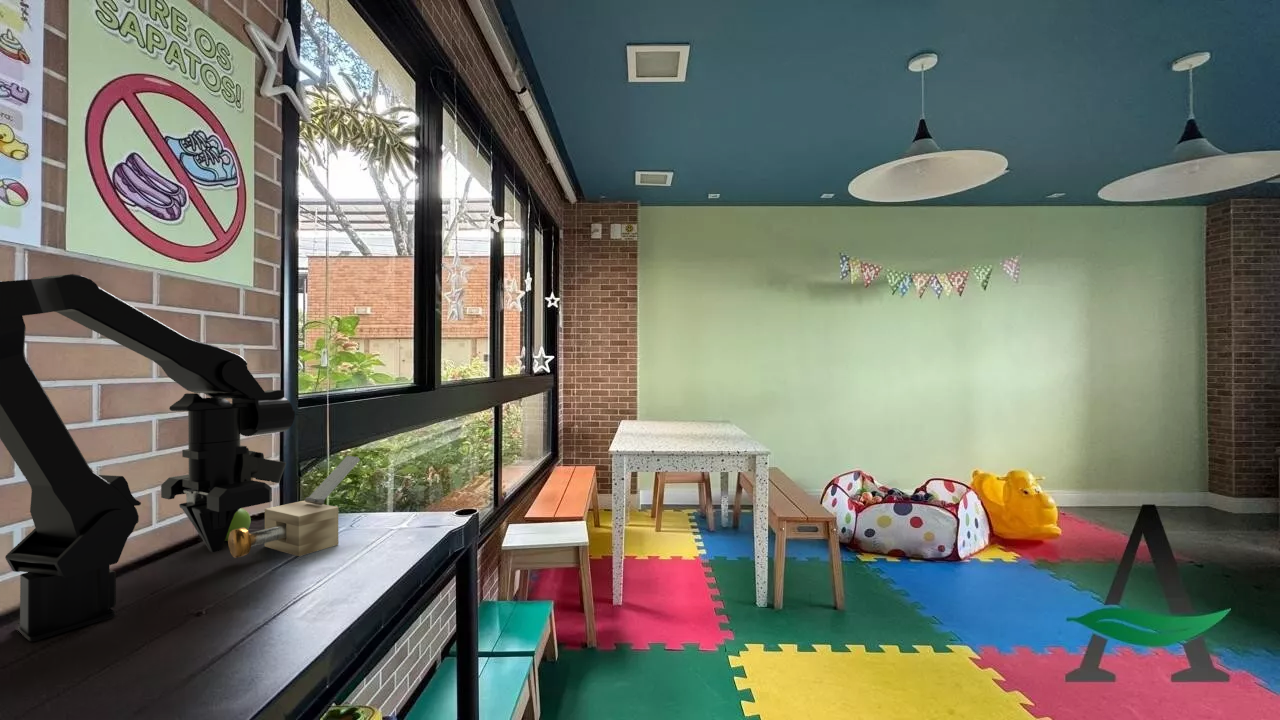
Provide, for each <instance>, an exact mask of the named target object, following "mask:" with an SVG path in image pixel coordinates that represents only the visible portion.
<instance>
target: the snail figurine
mask: <svg viewBox="0 0 1280 720" xmlns="http://www.w3.org/2000/svg"><path fill="white" fill-rule="evenodd" d="M251 480H253V481H254V478H251ZM251 521H252V520H251V516H250V514H249V512H248V511H247V510H246V509H244V508H240V509H239V510H238V511H237V512H236V513H235V515H234V517H233V519H232V522H231V524H230V527H229V530H228V533H227V536H226V538H225V541H227V542H228V538H229V534H230V532H231V531H232V530H235V529H239V528H246V529H247V530H248V531H249V528H250V526H251ZM225 541H224V542H225Z"/></svg>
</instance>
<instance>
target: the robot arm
mask: <svg viewBox="0 0 1280 720" xmlns="http://www.w3.org/2000/svg"><path fill="white" fill-rule="evenodd" d="M53 312H55V313H58V314H59V315H61V316H64V317H66V318H67V319H69V320H72V321H73V322H76V323H77V324H80V325H81V326H83V327H85V328H88V329H89V330H90V331H94V332H95V333H98V335H101V336H103V337H105V338H107V339H109V340H111V341H113V342H115V343H116V344H118V345H121V346H123V347H125V348H127V349H129V350H131V351H132V352H135V353H137V354H139V355H141V356H142V357H145V358H147V359H148V360H150V361H152V362H153V363H155V364H157V365H158V366H159V367H160V368H161V369H162V370H163V372H164V373H165V374H166V376H167V377H168V378H169V379H171V380H172V381H173V382H175V383H176V384H178V385H179V386H181V388H183V389H185V390H186V391H188V392H191V393H186V392H185V393H184V394H183V396H182V397H181V398H180V399H179V400H177V401H175V402H174V403H173V404H172V405H171V406H169V411H171V412H187V414H188V415H187V417H188V418H187V419H188V420H187V422H188V425H187V427H188V428H187V429H188V430H187V431H188V444H187V445H188V449H182V452H181V454H182V456H181V457H182V458H186V459H188V474H183V475H177V476H171V477H168V478H167V479H166V480H165V481H164V482H163V483H162V484H161V485H160V490H161V491H160V497H161V499H165V500H173V499H175V497H176V496H178V495H186V498H185V501H186V502H182V503H180V504H179V505H178V506H179V508H180V509H182V511H183V512H184V514H185V515H186V516H187V518H188V519H189V521H190V523H191V524H192V526H193V527H194V528H195V530H196V532H197V533H198V535H199V536H200V538H201V540H202V542H203V543H204V544H205V546H206V548H207V549H208V551H209V553H210V552H211V553H216V552H220V551H221V550H223V547H224V544H225V538H226V536H227V533H228V530H229V527H230V524H231V522H232V519H233V517H234V515H235V513H236V512H237V511H238V510H239V509H240V508H242V509H244V508H249V507H253V506H254V507H255V506H257V505H262V504H267V503H271V502H272V501H273V487H272V486H270V485H269V484H267V483H266V482H271V483H274V484H275V483H276V484H279V483H280V481H281V479H282V476H283V473H284V470H285V468H286V466H287V462H286V461H285V462H284V461H279V460H274V459H273V460H272V459H269V458H265V455H264V452H259V451H254V450H250V449H249V447H247V445H241V435H242V436H245V437H254V436H259V435H260V436H261V435H266V434H267V435H269V434H274V433H275V434H276V433H282V432H285V431H288V430H289V429H290V428H291V427H292V425H293V424H294V421H295V414H296V412H295V410H294V409H293V406H292V404H291V402H290V401H289V399H287V398H286V397H285V391H284V390H283V389H270V390H264V389H263V387H262V386H261V384H260V383H259V382H258V380H257V379H256V378H255V377H254V375H253V374H252V373H251V372H250V370H249V369H248V362H247V360H246V359H245V358H244V357H243V356H242V355H240V354H238V353H235V352H232V351H230V350H228V349H225V348H223V347H219V346H217V345H214V344H213V345H212V344H210V343H205V342H201V341H198V340H195V339H192V338H189V337H187V336H185V335H183V334H182V333H180V332H178V331H176V330H175V329H173V328H171V327H169V326H168V325H166V324H164V323H163V322H161V321H159V320H158V319H156V318H154V317H153V316H150V315H148V314H147V313H146V312H144V311H141V310H139V309H138V308H136V307H135V306H133V305H132V304H129V303H127V302H126V301H124V300H122V299H121V298H119V297H117V296H115V295H114V294H112V293H110V292H108V291H107V290H105V289H103V288H102V287H100V286H99V285H97V283H96V282H95V281H93V280H92V279H90V278H89V277H87V276H84V275H81V274H74V273H69V274H60V275H59V274H58V275H50V276H49V275H48V276H43V277H41V278H30V279H17V280H4V281H2V280H0V441H1V442H2V444H3V445H4V446H5V448H6V450H7V451H8V453H9V455H10V456H11V458H12V460H13V462H15V464H16V466H18V467H17V468H18V469H19V470H20V471H21V473H22V475H23V476H24V478H25V480H26V481H27V483H28V484H29V486H30V489H31V490H30V491H31V497H30V505H29V506H30V508H29V509H30V511H29V512H30V516H31V518H32V519H31V520H32V522H33V525H34V529H33V530H32V531H31V532H29V533H28V534H27V535H26V536H25V537H24V538H23V539H21V540H20V542H19V543H18V544H17V545H15V546H14V547H13V548H12V549H11V550H10V551H8V553H7V554H6V555H5V560H6V562H7V563H8V565H9V567H10V568H11V571H12V572H16V573H19V572H23V573H21V574H20V577H19V578H20V579H19V581H20V583H19V584H20V585H19V588H20V590H19V591H20V594H19V600H20V601H19V623H20V626H18V629H19V630H20V632H21V633H22V634H23V635H24V636H23V635H22V636H23V637H24V638H25V639H27V640H28V641H29V642H35V641H39V640H42V639H46V638H49V637H52V636H56V635H58V634H62V633H66V632H69V631H72V630H76V629H78V628H81V627H82V628H83V627H85V626H87V625H91V624H94V623H98V622H101V621H105V620H107V619H111V618H113V617H115V616H116V611H115V610H114V609H113V608H115V606H116V605H117V599H116V598H117V572H116V571H114V570H112V569H111V568H110V566H111V565H112V566H113V565H115V564H117V563H118V562H119V560H120V558H121V555H122V553H123V550H124V548H125V545H126V543H127V540H128V538H130V536H131V535H132V533H133V532H134V529H135V528H136V525H137V524H138V523H139V517H140V516H139V513H138V510H137V509H138V508H136V506H141V504H142V502H141V501H139V500H138V499H137V498H135V497H134V496H133V494H132V492H131V489H130V486H129V483H128V481H127V479H126V478H125V477H124V476H123V475H107V474H97V473H96V472H95V471H93V469H92V468H91V467H90V465H89V464H88V462H87V460H86V459H85V457H84V456H83V454H82V452H81V450H80V448H79V447H78V446H77V444H76V441H75V440H74V438H73V436H72V435H71V433H70V431H69V430H68V428H67V426H66V424H65V423H64V421H63V419H62V418H61V416H60V414H59V412H58V411H57V409H56V408H55V406H54V404H53V403H52V401H51V399H50V397H49V396H48V394H47V393H46V390H45V389H44V387H43V386H42V383H41V381H39V378H38V376H37V375H36V373H35V372H34V370H33V369H32V367H31V364H29V361H28V359H27V358H26V357H27V356H26V355H25V344H26V343H25V342H26V331H27V330H26V329H27V328H26V323H25V320H24V316H30V315H40V314H45V313H53ZM200 394H205V395H206V396H207V397H202V396H201V395H200ZM228 399H229V400H230V399H231V402H230V401H229V400H228ZM251 478H253V480H251ZM254 479H255V480H254ZM265 481H266V482H265Z"/></svg>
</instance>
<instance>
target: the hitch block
mask: <svg viewBox="0 0 1280 720" xmlns="http://www.w3.org/2000/svg"><path fill="white" fill-rule="evenodd" d="M285 524H286V538H282V539H278V540H274V541H271V542H267V543H264V547H265V548H269V549H272V550H275V551H278V552H283V553H286V554H289V555H291V556H296V557H301V556H302V557H303V556H305V555H309V554H311V553H316V552H318V551H321V550H325V549H328V548H331V547H335V546H338V545H339V507H338V506H334V505H329V504H322V505H318V504H313V503H307V502H305V500H301V501H295V502H290V503H286V504H282V505H277V506H272V507H267V508H264V529H268V528H272V527H276V526H280V525H285Z"/></svg>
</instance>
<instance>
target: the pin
mask: <svg viewBox="0 0 1280 720" xmlns="http://www.w3.org/2000/svg"><path fill="white" fill-rule="evenodd" d="M282 538H286V524H285V525H280V526H276V527H272V528H268V529H265V528H264V529H261V530H256V531H252V532H249V529H248V530H247V529H246V528H239V529H235V530H232V531H231V532H230V534H229V538H228V541H227V544H228V550H229V553H230V556H231V557H233V558H234V559H237V558H241V557H244V556H247V555H249V553H250V551H251V549H252V547H255V546H260V545H262V544H265V543H267V542H271V541H274V540H278V539H282Z"/></svg>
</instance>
